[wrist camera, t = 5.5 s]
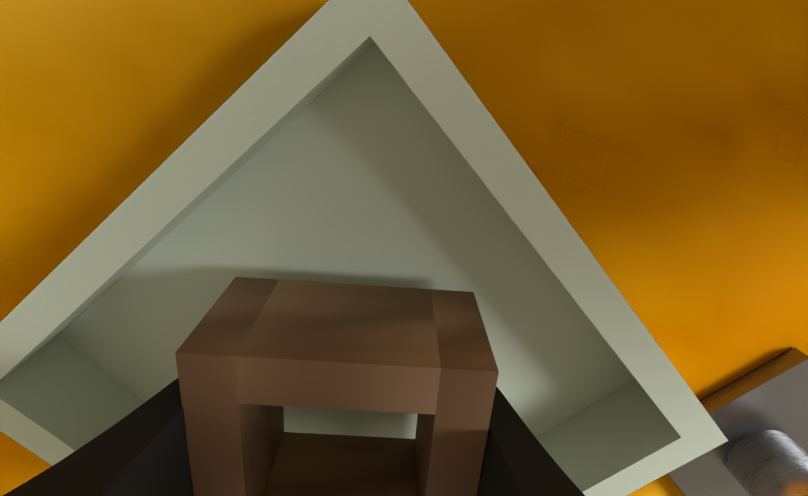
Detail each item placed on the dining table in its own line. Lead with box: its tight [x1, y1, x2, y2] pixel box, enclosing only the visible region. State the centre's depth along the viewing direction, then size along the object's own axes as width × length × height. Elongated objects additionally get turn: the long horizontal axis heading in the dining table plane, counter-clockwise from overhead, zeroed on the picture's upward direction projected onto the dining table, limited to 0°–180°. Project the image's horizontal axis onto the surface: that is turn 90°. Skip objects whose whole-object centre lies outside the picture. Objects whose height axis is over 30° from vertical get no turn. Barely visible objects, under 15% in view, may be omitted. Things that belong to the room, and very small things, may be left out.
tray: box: [0, 0, 728, 496], centre depth 11 cm, size 13×13×3 cm
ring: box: [175, 277, 499, 496], centre depth 10 cm, size 6×6×3 cm
